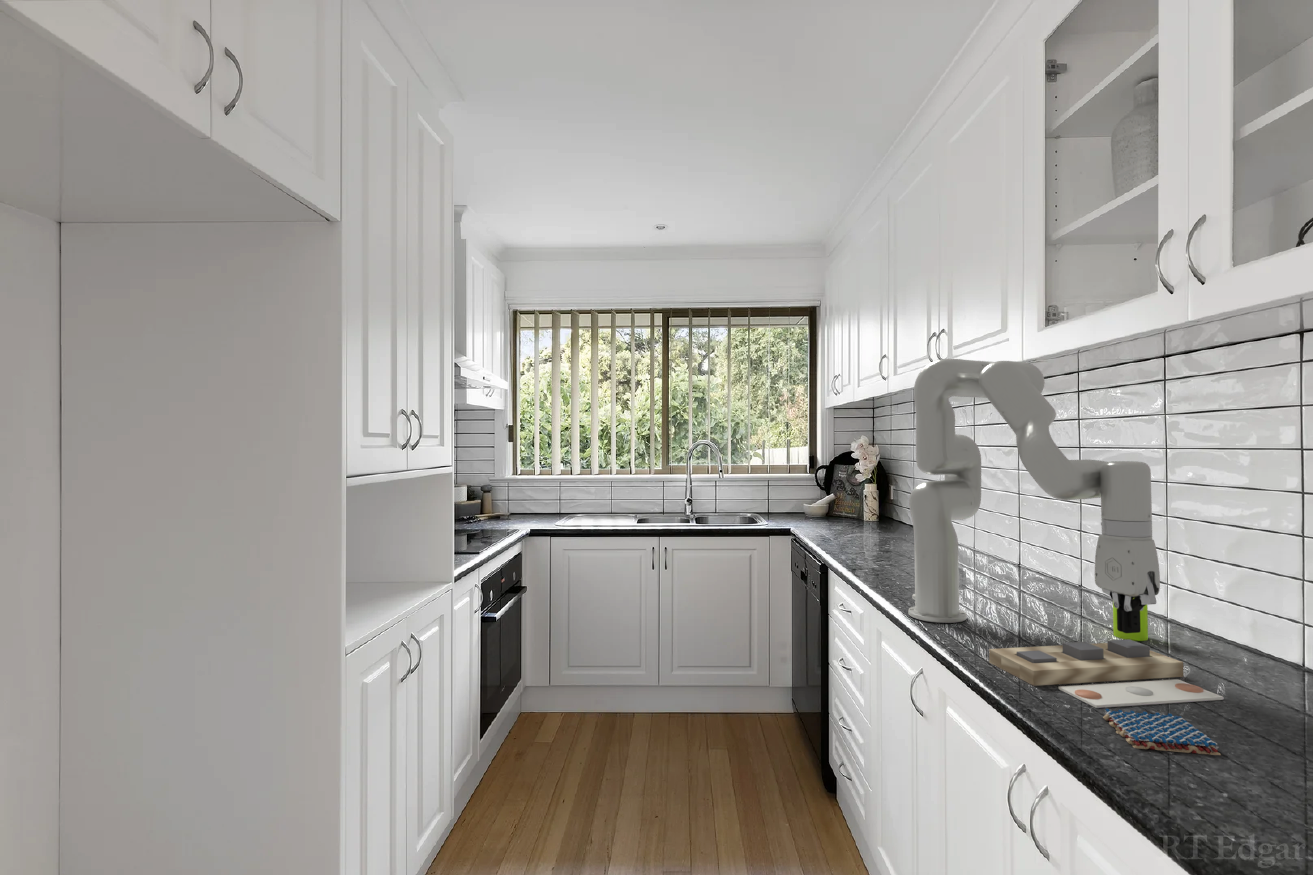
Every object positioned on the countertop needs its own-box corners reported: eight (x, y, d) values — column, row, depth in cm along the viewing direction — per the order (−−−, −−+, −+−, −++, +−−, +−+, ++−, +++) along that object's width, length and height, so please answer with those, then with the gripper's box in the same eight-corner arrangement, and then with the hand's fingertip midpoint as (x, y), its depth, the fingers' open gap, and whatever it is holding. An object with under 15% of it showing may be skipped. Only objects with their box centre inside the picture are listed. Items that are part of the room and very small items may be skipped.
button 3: (1127, 661, 119) (1127, 647, 119) (1107, 654, 123) (1107, 640, 123) (1149, 660, 120) (1149, 646, 120) (1129, 652, 124) (1129, 639, 124)
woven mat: (1132, 752, 89) (1132, 737, 89) (1100, 720, 100) (1100, 706, 100) (1224, 760, 87) (1224, 745, 87) (1182, 727, 97) (1181, 713, 97)
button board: (1033, 685, 113) (1033, 670, 113) (989, 662, 125) (989, 649, 125) (1183, 676, 116) (1183, 662, 116) (1126, 654, 128) (1126, 641, 128)
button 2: (1080, 664, 118) (1080, 650, 118) (1062, 656, 122) (1062, 642, 122) (1103, 663, 118) (1103, 648, 118) (1084, 655, 123) (1084, 641, 123)
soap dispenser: (1116, 640, 138) (1114, 542, 138) (1111, 631, 144) (1110, 537, 144) (1151, 643, 135) (1149, 543, 135) (1145, 634, 141) (1143, 539, 141)
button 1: (1033, 673, 117) (1033, 659, 117) (1016, 665, 121) (1016, 651, 121) (1056, 672, 117) (1056, 658, 117) (1039, 664, 122) (1039, 650, 122)
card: (1096, 707, 103) (1095, 703, 103) (1058, 688, 111) (1058, 685, 111) (1223, 699, 106) (1223, 695, 106) (1178, 681, 114) (1178, 678, 114)
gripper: (1076, 525, 129) (1078, 621, 128) (1142, 535, 114) (1145, 644, 113) (1112, 524, 130) (1114, 620, 129) (1182, 534, 115) (1184, 642, 114)
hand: (1128, 631), depth 121 cm, fingers closed
